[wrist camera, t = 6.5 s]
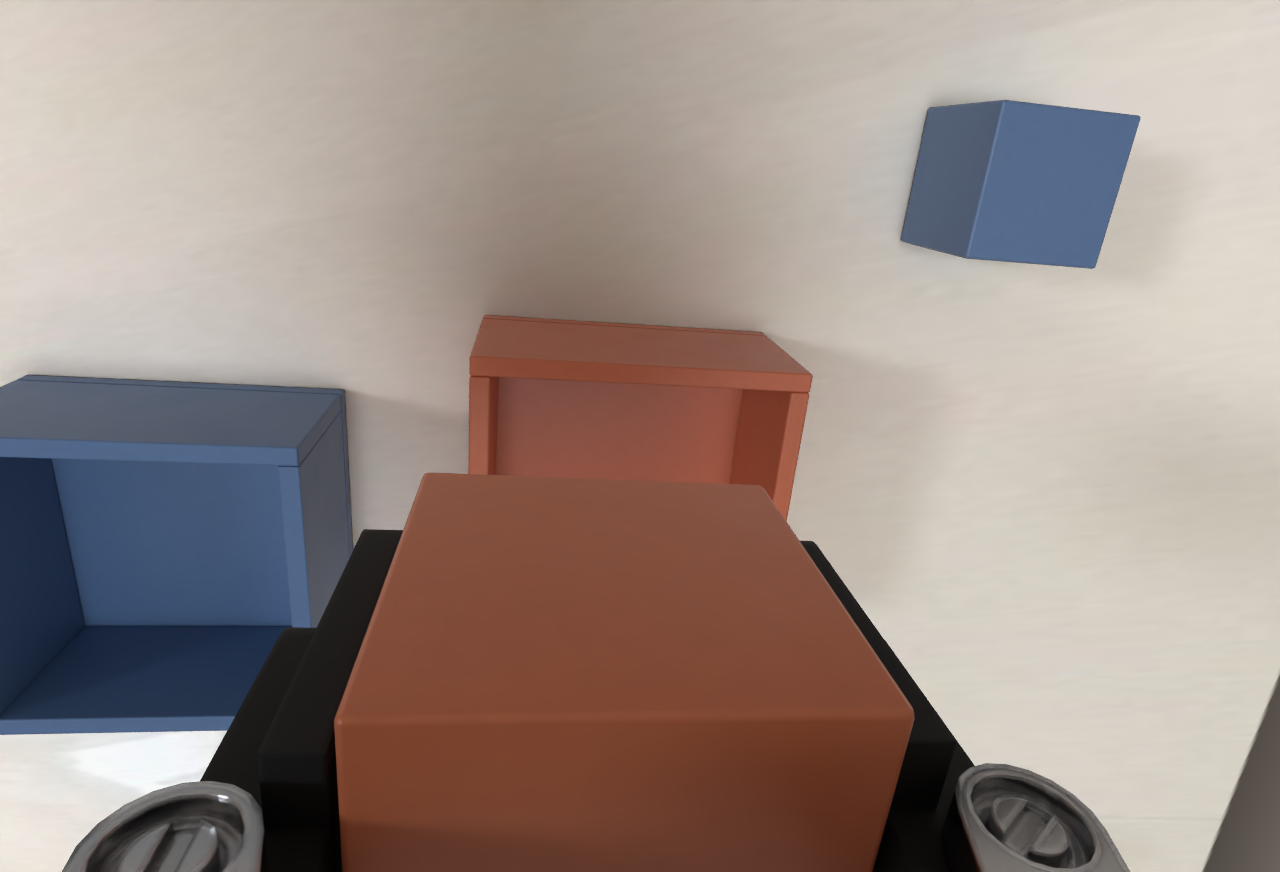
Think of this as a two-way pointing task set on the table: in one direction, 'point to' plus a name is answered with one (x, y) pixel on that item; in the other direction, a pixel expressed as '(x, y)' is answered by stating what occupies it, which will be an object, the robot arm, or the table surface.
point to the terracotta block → (612, 689)
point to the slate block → (1018, 181)
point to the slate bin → (160, 545)
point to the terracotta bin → (635, 404)
